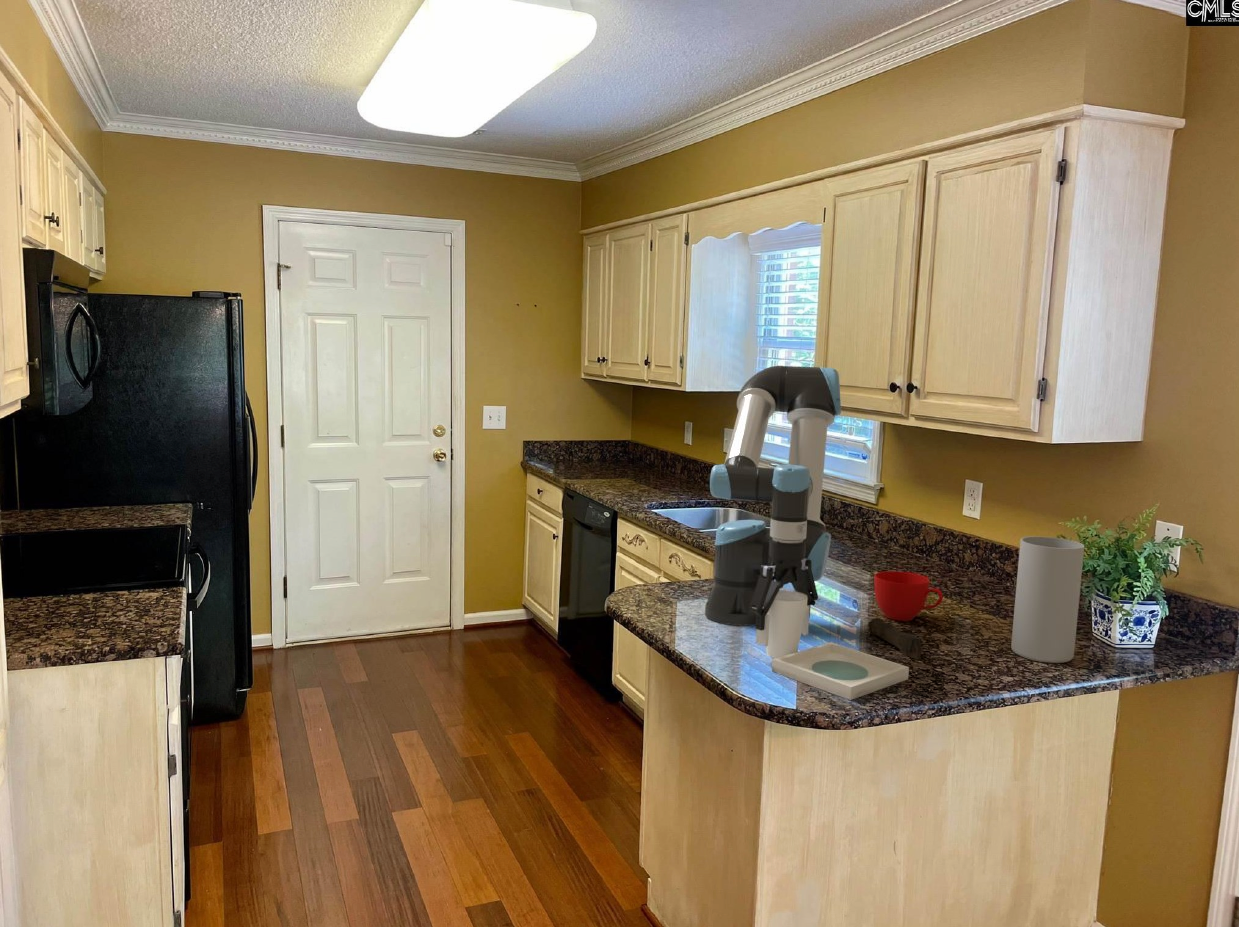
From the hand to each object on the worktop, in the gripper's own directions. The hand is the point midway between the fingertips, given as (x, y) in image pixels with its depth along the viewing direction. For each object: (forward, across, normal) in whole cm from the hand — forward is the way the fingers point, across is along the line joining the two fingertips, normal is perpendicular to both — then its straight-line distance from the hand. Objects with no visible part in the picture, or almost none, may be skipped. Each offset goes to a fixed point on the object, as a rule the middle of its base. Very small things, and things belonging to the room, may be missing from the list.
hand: (782, 639), depth 198 cm
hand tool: (+4, +26, -11) cm, 29 cm away
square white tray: (+3, 0, -15) cm, 15 cm away
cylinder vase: (+4, +48, -33) cm, 58 cm away
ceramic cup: (+4, +47, 0) cm, 47 cm away
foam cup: (+4, 0, 0) cm, 4 cm away
